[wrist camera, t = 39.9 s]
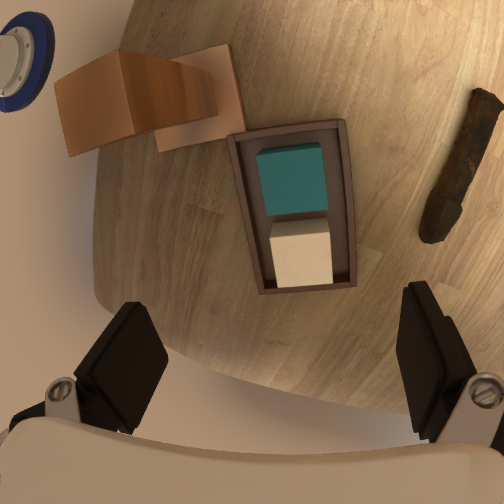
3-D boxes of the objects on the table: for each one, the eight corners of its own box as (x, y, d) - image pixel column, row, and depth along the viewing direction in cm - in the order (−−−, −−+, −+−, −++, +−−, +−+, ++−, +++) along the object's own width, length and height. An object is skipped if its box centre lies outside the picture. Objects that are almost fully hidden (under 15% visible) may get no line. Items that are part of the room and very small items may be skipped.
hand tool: (468, 84, 23) (489, 84, 19) (492, 104, 23) (514, 108, 19) (399, 224, 32) (411, 241, 28) (425, 238, 33) (438, 256, 28)
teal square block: (270, 203, 33) (266, 216, 30) (261, 149, 31) (255, 155, 27) (325, 197, 32) (328, 209, 28) (318, 141, 29) (321, 147, 26)
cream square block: (280, 269, 37) (277, 288, 33) (272, 222, 34) (269, 237, 31) (330, 265, 36) (333, 283, 32) (326, 217, 33) (329, 232, 29)
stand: (162, 151, 33) (55, 203, 17) (145, 70, 28) (24, 66, 13) (248, 133, 30) (188, 169, 15) (230, 45, 26) (152, -8, 10)
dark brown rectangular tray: (261, 283, 39) (259, 295, 37) (231, 133, 31) (225, 136, 29) (354, 275, 36) (357, 287, 34) (341, 118, 28) (344, 119, 26)
